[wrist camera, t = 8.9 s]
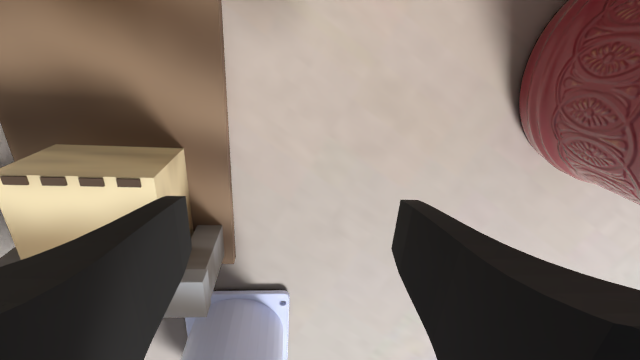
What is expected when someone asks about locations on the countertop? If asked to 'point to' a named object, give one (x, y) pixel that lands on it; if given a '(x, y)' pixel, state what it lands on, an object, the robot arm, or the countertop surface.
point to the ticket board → (116, 125)
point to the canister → (587, 94)
